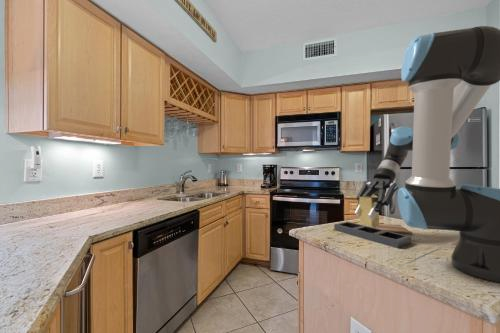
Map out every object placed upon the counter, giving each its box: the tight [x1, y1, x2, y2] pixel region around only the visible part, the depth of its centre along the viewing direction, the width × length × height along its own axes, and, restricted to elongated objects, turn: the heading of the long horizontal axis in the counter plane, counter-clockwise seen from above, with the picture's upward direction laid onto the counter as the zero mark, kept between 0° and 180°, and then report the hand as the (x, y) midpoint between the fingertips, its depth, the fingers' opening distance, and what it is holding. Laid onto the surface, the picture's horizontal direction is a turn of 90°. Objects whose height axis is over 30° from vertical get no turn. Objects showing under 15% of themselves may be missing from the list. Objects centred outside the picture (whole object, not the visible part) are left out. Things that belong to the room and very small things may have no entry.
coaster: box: [373, 223, 413, 236], centre depth 102 cm, size 12×12×2 cm
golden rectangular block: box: [358, 195, 380, 227], centre depth 94 cm, size 5×5×11 cm
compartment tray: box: [333, 221, 412, 249], centre depth 94 cm, size 26×9×3 cm, turn 32°
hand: (363, 216), depth 92 cm, fingers closed on golden rectangular block, 5 cm apart
